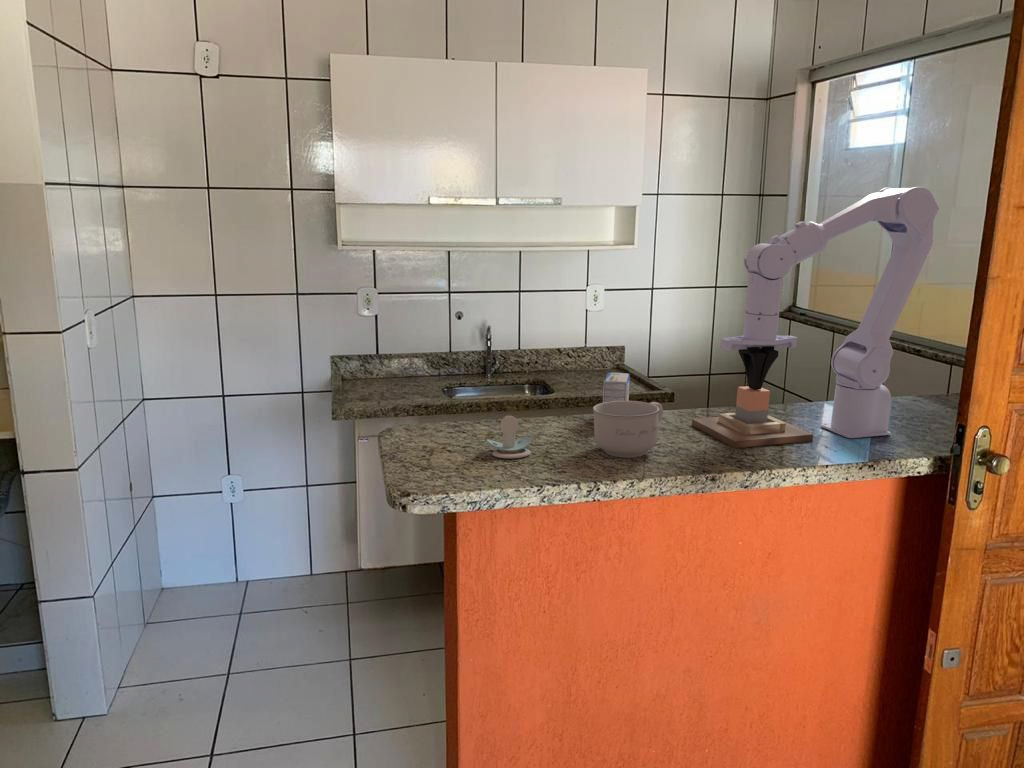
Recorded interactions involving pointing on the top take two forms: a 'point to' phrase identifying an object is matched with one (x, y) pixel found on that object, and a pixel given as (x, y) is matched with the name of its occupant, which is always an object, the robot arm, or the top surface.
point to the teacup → (626, 427)
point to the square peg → (752, 405)
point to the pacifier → (510, 441)
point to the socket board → (751, 431)
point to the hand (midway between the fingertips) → (754, 388)
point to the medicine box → (616, 387)
